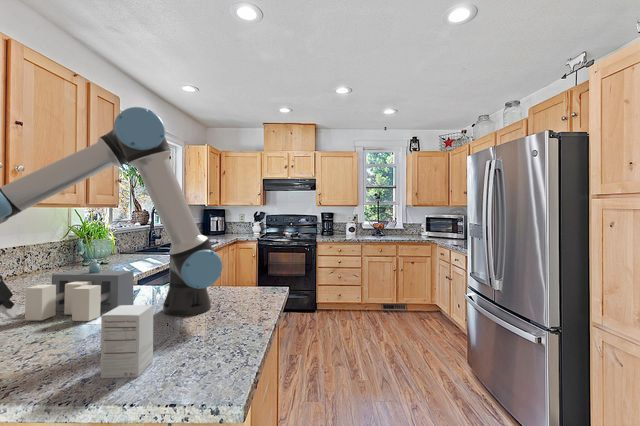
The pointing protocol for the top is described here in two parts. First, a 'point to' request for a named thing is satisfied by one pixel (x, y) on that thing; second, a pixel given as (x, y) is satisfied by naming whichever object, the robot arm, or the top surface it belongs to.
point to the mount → (108, 279)
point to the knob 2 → (87, 302)
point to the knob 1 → (41, 301)
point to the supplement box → (126, 341)
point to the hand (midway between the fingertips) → (14, 312)
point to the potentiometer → (94, 267)
